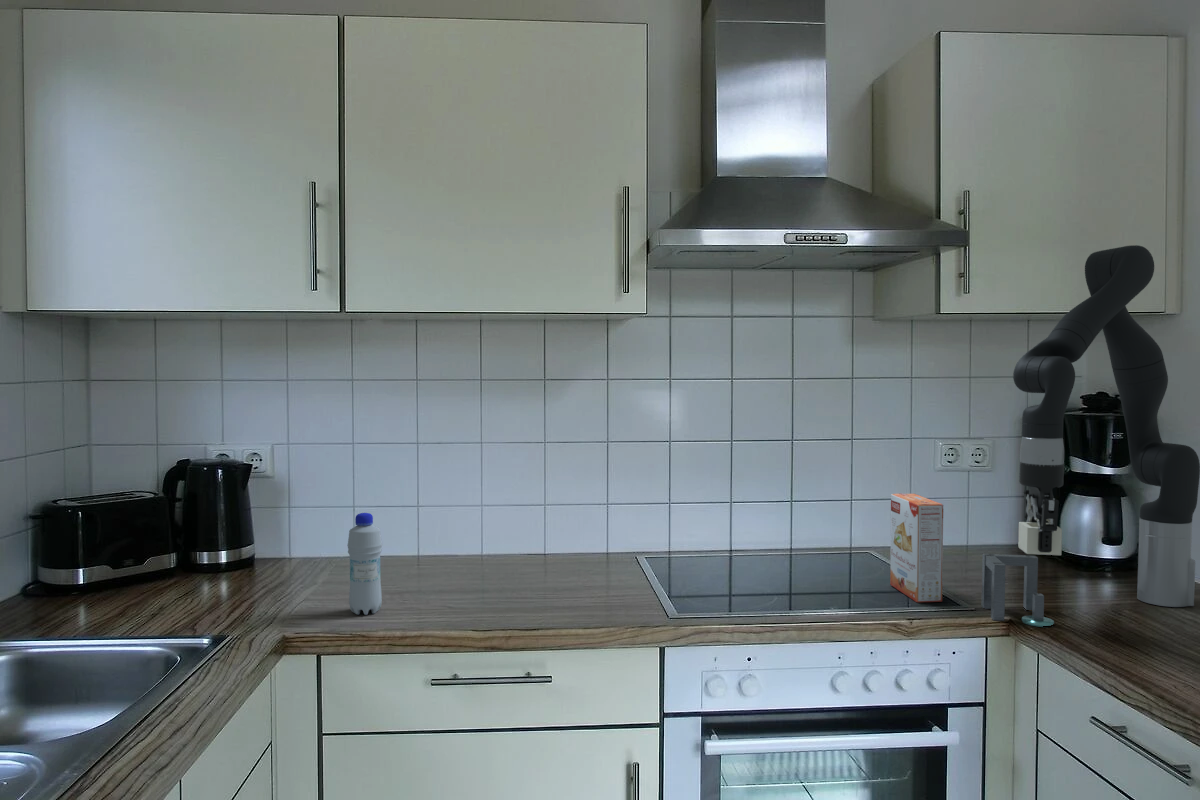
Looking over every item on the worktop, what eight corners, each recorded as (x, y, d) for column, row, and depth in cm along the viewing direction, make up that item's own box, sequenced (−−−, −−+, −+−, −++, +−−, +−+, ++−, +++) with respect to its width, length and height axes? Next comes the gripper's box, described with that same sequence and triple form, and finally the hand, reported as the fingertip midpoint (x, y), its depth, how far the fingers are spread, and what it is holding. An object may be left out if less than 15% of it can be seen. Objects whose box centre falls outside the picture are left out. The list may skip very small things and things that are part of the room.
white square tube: (1051, 548, 170) (1052, 523, 169) (1061, 555, 164) (1061, 528, 164) (1018, 547, 171) (1018, 521, 171) (1026, 553, 165) (1027, 527, 165)
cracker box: (888, 585, 195) (889, 493, 194) (914, 585, 196) (916, 492, 195) (915, 603, 181) (916, 503, 180) (943, 602, 182) (945, 503, 181)
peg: (1048, 619, 170) (1049, 591, 170) (1057, 627, 165) (1058, 599, 164) (1018, 617, 171) (1019, 590, 171) (1026, 626, 166) (1027, 597, 166)
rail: (1033, 608, 177) (1035, 555, 177) (1048, 623, 168) (1050, 567, 167) (981, 606, 179) (982, 553, 179) (993, 620, 170) (994, 564, 169)
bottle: (348, 618, 171) (347, 516, 170) (348, 608, 177) (346, 510, 176) (383, 615, 173) (382, 514, 172) (382, 606, 179) (381, 509, 178)
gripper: (1075, 466, 159) (1073, 557, 160) (1051, 457, 173) (1049, 541, 174) (1031, 464, 160) (1029, 555, 161) (1010, 456, 174) (1008, 539, 175)
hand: (1039, 547), depth 167 cm, fingers closed on white square tube, 6 cm apart
